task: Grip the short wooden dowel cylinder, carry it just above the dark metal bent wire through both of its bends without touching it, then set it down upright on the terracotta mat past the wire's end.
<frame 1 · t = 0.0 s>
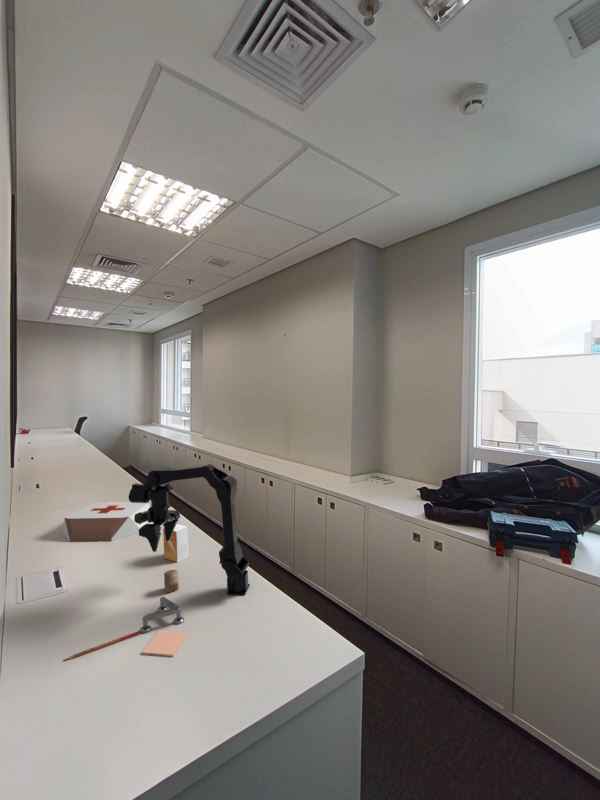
hand: (161, 545, 135), 15 cm above the worktop, fingers open, 9 cm apart
wooden dowel cylinder: (171, 589, 133), on the worktop
small box: (176, 558, 159), on the worktop
first aid kit: (109, 529, 195), on the worktop
terracotta mat: (165, 643, 105), on the worktop
pencil: (103, 648, 105), on the worktop
bent wire: (166, 620, 116), on the worktop
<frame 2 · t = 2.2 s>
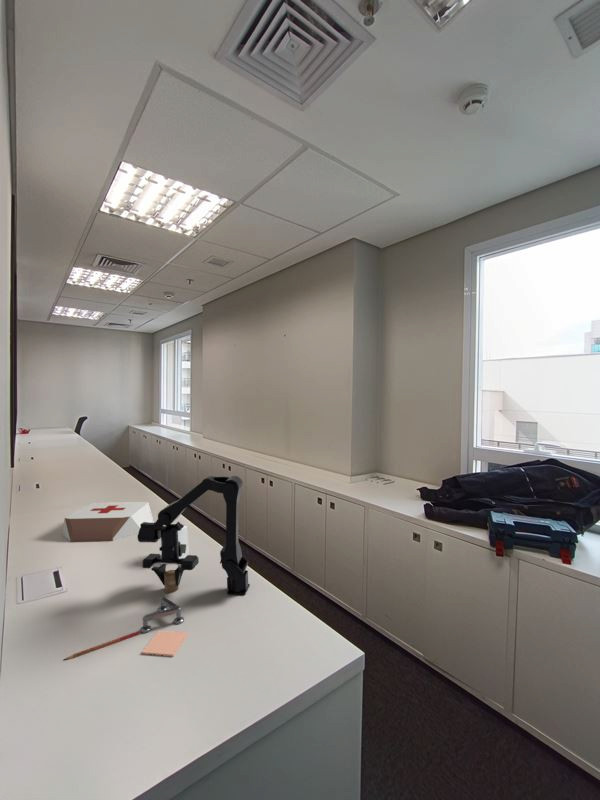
hand: (171, 585, 133), 2 cm above the worktop, fingers closed on wooden dowel cylinder, 5 cm apart
wooden dowel cylinder: (171, 589, 133), on the worktop, touching gripper
everything else where it was.
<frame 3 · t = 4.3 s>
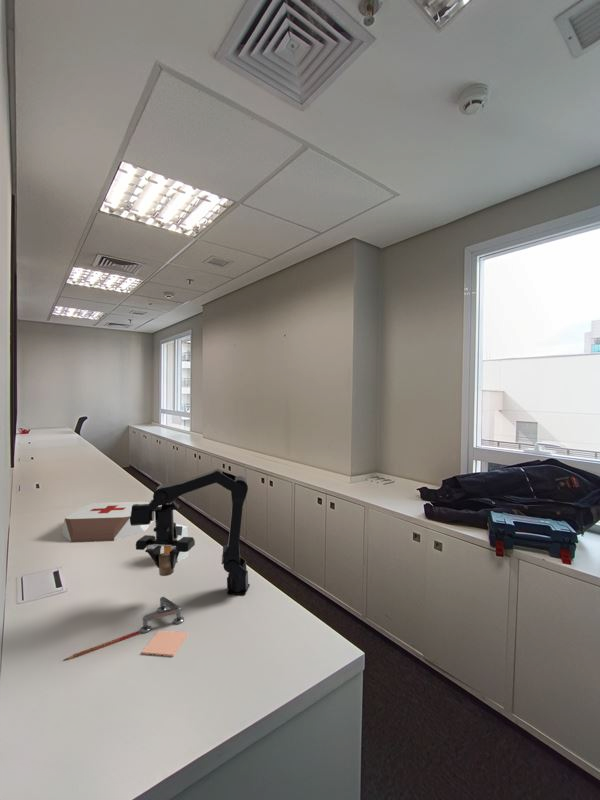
hand: (166, 568, 127), 11 cm above the worktop, fingers closed on wooden dowel cylinder, 5 cm apart
wooden dowel cylinder: (166, 572, 127), point 9 cm above the worktop, touching gripper
everything else where it was.
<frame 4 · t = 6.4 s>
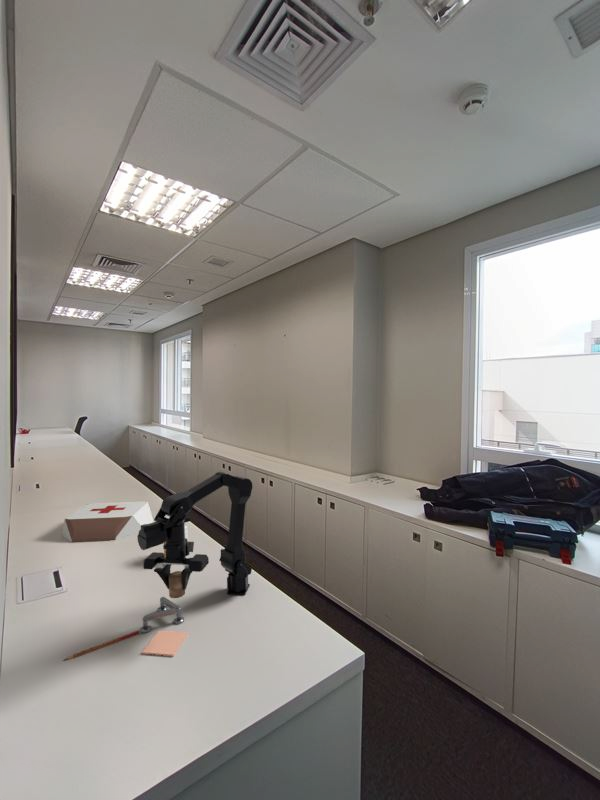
hand: (177, 589, 115), 10 cm above the worktop, fingers closed on wooden dowel cylinder, 5 cm apart
wooden dowel cylinder: (177, 594, 115), point 8 cm above the worktop, touching gripper
everything else where it was.
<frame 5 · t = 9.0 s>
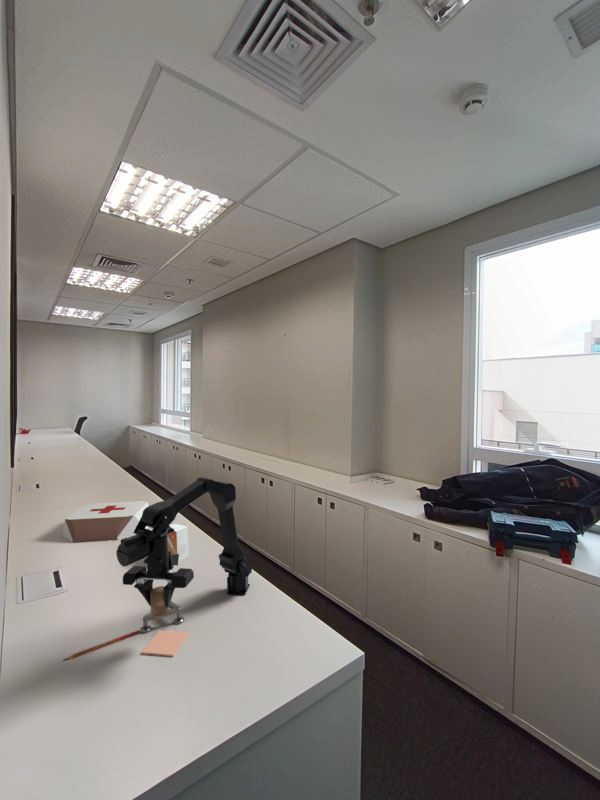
hand: (159, 606, 106), 10 cm above the worktop, fingers closed on wooden dowel cylinder, 5 cm apart
wooden dowel cylinder: (159, 611, 106), point 8 cm above the worktop, touching gripper
when the fingers open (3 cm above the worktop, at t = 11.0 s): wooden dowel cylinder stays where it is, resting on terracotta mat.
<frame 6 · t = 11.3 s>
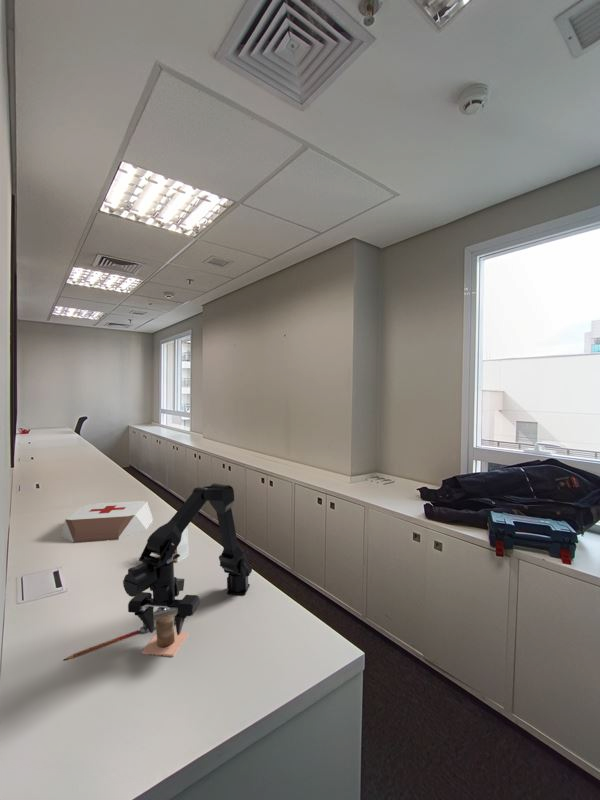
hand: (165, 633, 105), 3 cm above the worktop, fingers open, 8 cm apart
wooden dowel cylinder: (165, 642, 105), resting on terracotta mat
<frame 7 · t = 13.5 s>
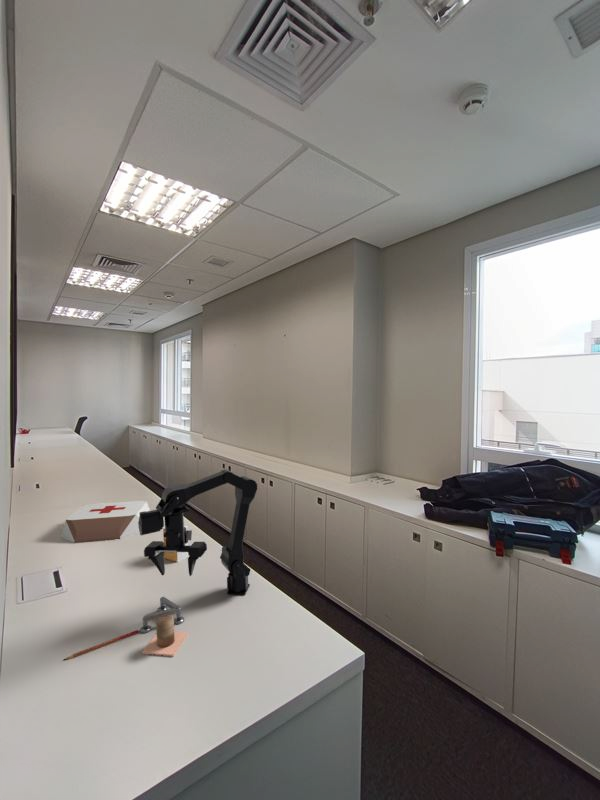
hand: (177, 575, 121), 11 cm above the worktop, fingers open, 9 cm apart
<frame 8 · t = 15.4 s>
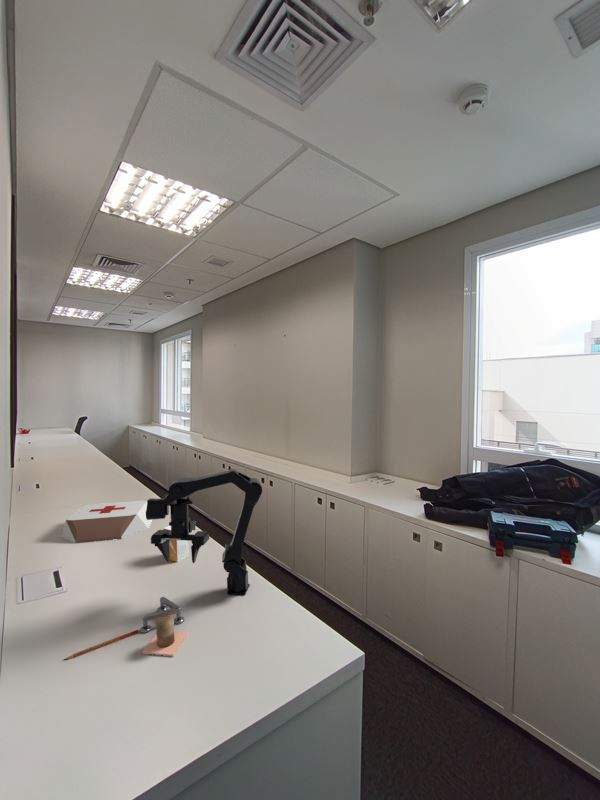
hand: (181, 562, 128), 12 cm above the worktop, fingers open, 9 cm apart
at the end: wooden dowel cylinder inside the target area on the terracotta mat (0.0 cm from its centre), point 0.5 cm above the terracotta mat's base; wooden dowel cylinder tilted 0°; wooden dowel cylinder touching terracotta mat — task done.
